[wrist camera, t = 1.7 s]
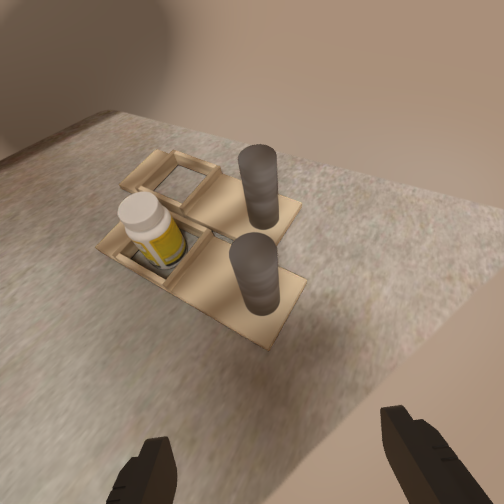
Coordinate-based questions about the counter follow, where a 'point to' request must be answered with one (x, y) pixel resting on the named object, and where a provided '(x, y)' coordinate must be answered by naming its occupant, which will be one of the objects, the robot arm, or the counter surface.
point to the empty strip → (223, 193)
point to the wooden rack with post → (223, 279)
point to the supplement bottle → (152, 230)
